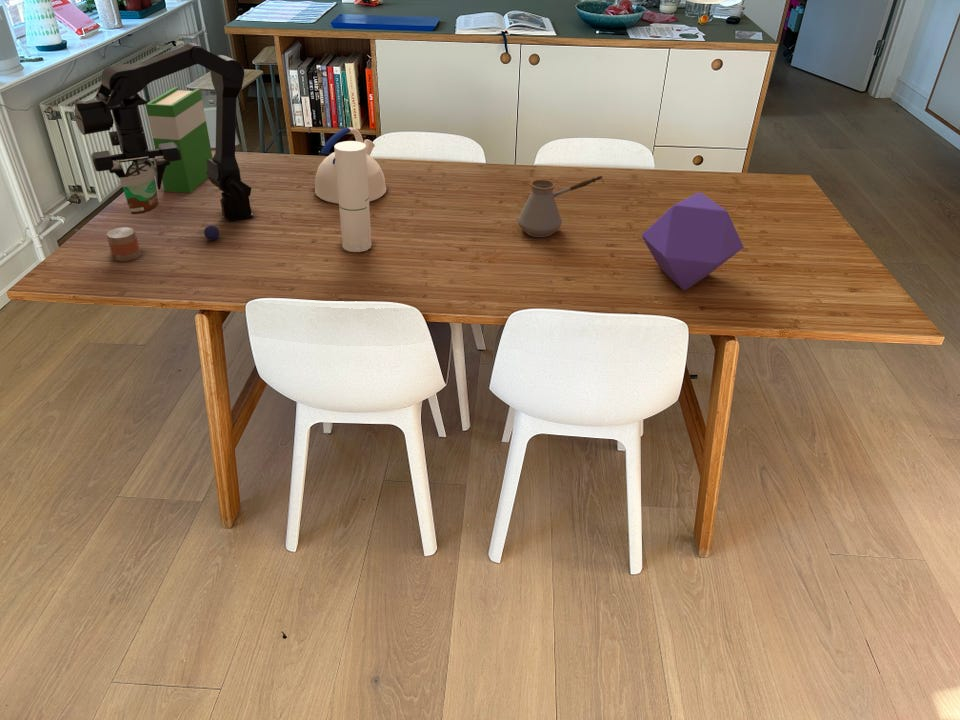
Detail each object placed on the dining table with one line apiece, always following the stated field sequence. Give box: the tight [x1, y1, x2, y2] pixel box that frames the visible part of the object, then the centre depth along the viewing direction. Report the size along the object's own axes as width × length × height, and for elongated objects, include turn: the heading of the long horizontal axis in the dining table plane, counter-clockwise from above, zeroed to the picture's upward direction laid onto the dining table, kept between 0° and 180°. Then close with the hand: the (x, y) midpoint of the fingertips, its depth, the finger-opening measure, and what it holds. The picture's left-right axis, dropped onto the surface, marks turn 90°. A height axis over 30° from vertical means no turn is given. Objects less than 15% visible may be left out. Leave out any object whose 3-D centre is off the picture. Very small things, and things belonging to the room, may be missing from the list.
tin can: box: [106, 226, 141, 262], centre depth 174 cm, size 6×6×6 cm
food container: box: [119, 159, 159, 215], centre depth 176 cm, size 12×6×10 cm, turn 5°
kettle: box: [314, 127, 387, 205], centre depth 208 cm, size 20×21×18 cm
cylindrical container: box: [333, 140, 372, 253], centre depth 177 cm, size 7×7×25 cm
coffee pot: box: [517, 175, 605, 238], centre depth 190 cm, size 21×12×15 cm, turn 94°
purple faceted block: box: [641, 191, 744, 291], centre depth 170 cm, size 22×20×20 cm
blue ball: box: [203, 225, 220, 241], centre depth 183 cm, size 4×4×4 cm
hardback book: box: [144, 86, 214, 194], centre depth 209 cm, size 18×7×24 cm, turn 174°
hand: (145, 191), depth 178 cm, fingers closed on food container, 6 cm apart
